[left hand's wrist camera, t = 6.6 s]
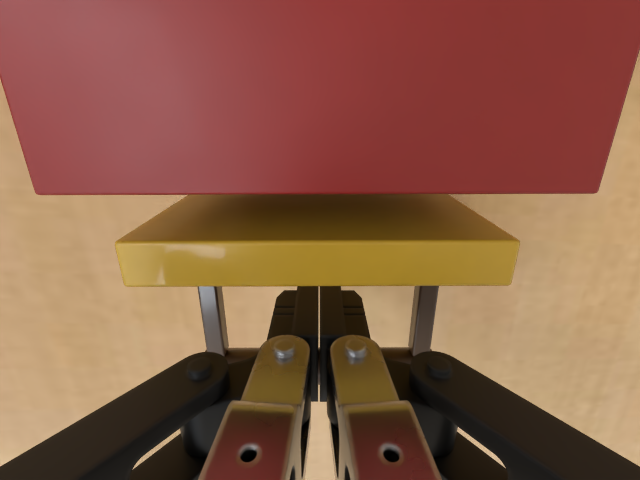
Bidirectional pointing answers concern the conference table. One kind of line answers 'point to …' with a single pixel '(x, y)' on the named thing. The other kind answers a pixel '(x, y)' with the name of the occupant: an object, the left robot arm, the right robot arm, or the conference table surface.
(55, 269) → the conference table surface
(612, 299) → the conference table surface
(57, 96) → the cabinet
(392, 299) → the conference table surface
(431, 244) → the drawer
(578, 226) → the conference table surface
